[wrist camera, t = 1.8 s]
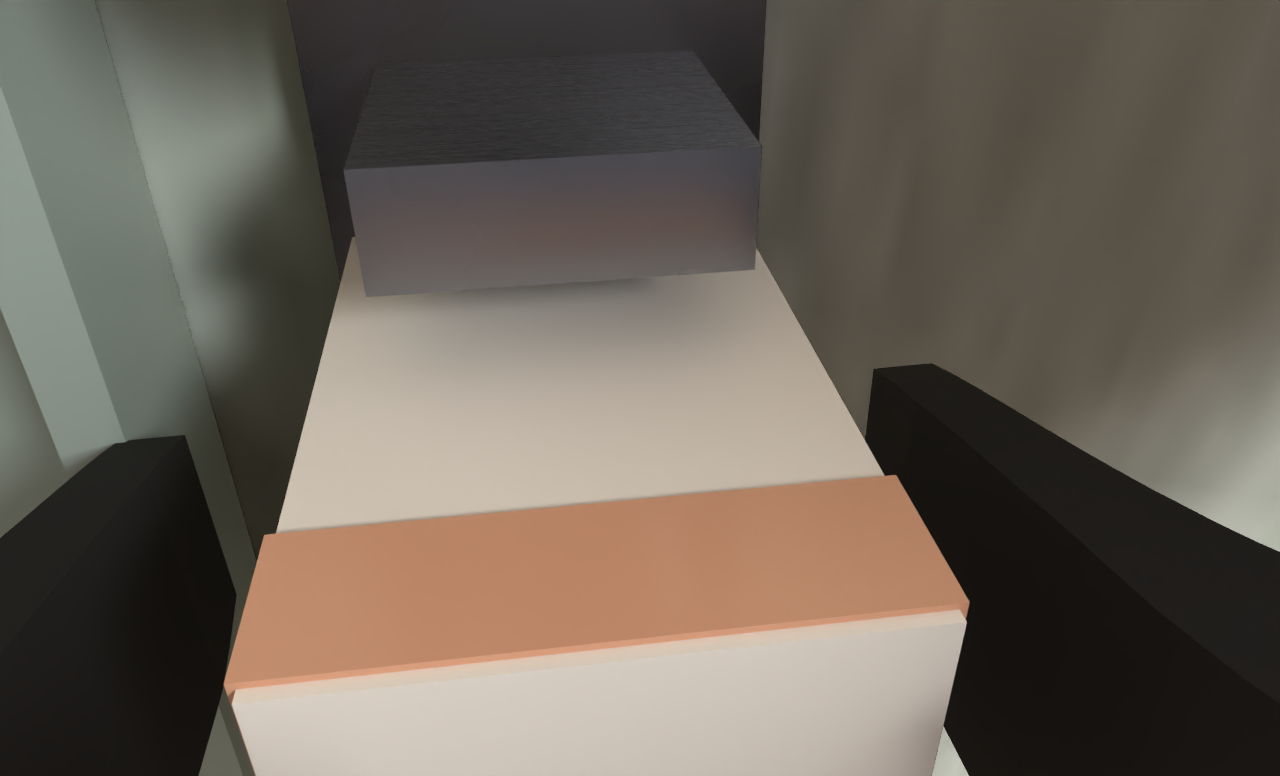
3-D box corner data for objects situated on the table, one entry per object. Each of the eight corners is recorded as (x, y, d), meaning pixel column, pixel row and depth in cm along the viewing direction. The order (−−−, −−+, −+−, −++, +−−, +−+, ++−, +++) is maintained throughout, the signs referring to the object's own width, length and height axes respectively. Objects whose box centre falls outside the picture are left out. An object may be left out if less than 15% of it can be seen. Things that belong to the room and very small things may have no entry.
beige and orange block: (740, 207, 11) (977, 614, 6) (727, 508, 13) (887, 994, 8) (346, 233, 10) (220, 699, 5) (402, 539, 12) (352, 1075, 7)
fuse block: (792, -813, 7) (1151, -1454, 3) (714, 825, 17) (780, 1124, 14) (141, -847, 7) (-306, -1642, 3) (456, 859, 17) (450, 1180, 13)
